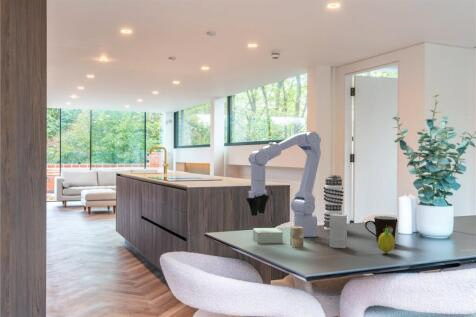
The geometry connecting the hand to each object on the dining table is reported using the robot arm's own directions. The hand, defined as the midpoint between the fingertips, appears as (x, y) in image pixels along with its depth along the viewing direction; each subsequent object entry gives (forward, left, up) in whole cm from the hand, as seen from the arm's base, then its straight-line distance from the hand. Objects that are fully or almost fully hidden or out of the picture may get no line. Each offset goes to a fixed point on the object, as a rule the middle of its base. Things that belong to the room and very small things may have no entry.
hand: (257, 214), depth 168 cm
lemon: (-41, +28, -10) cm, 50 cm away
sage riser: (-4, +2, -10) cm, 11 cm away
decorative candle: (-40, -22, -10) cm, 47 cm away
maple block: (-13, +13, -10) cm, 21 cm away
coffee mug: (-48, +10, -10) cm, 50 cm away
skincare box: (-28, +16, -10) cm, 33 cm away
